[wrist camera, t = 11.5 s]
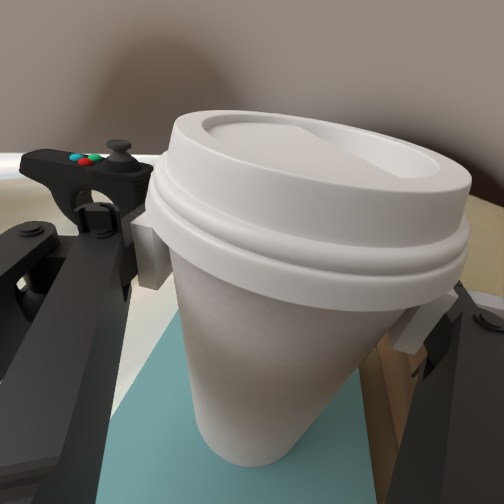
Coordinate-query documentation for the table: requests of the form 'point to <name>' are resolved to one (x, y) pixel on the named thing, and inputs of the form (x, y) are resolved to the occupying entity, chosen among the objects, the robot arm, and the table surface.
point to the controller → (90, 177)
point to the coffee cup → (295, 261)
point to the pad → (213, 466)
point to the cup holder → (404, 364)
